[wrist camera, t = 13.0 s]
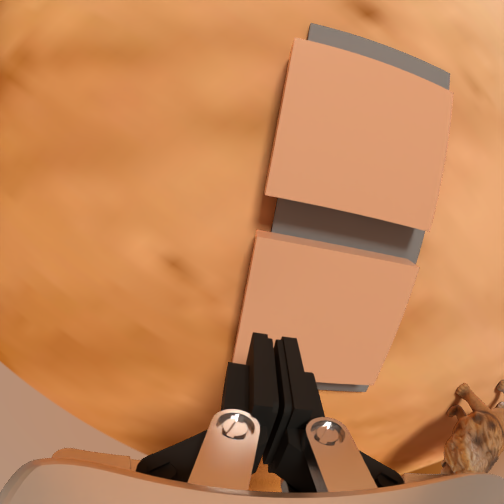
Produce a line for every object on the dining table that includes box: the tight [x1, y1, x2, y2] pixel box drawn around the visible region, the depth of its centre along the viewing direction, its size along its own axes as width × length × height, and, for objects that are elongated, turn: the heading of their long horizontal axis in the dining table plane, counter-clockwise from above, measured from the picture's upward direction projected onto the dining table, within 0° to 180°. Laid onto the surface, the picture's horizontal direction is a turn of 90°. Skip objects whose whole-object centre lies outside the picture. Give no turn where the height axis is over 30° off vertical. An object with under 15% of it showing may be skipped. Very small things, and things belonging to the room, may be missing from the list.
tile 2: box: [264, 38, 453, 232], centre depth 14 cm, size 8×2×9 cm
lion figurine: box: [441, 380, 504, 475], centre depth 17 cm, size 15×5×9 cm, turn 86°
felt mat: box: [271, 23, 450, 392], centre depth 17 cm, size 22×9×1 cm, turn 170°
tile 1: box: [232, 230, 420, 385], centre depth 17 cm, size 8×2×9 cm
